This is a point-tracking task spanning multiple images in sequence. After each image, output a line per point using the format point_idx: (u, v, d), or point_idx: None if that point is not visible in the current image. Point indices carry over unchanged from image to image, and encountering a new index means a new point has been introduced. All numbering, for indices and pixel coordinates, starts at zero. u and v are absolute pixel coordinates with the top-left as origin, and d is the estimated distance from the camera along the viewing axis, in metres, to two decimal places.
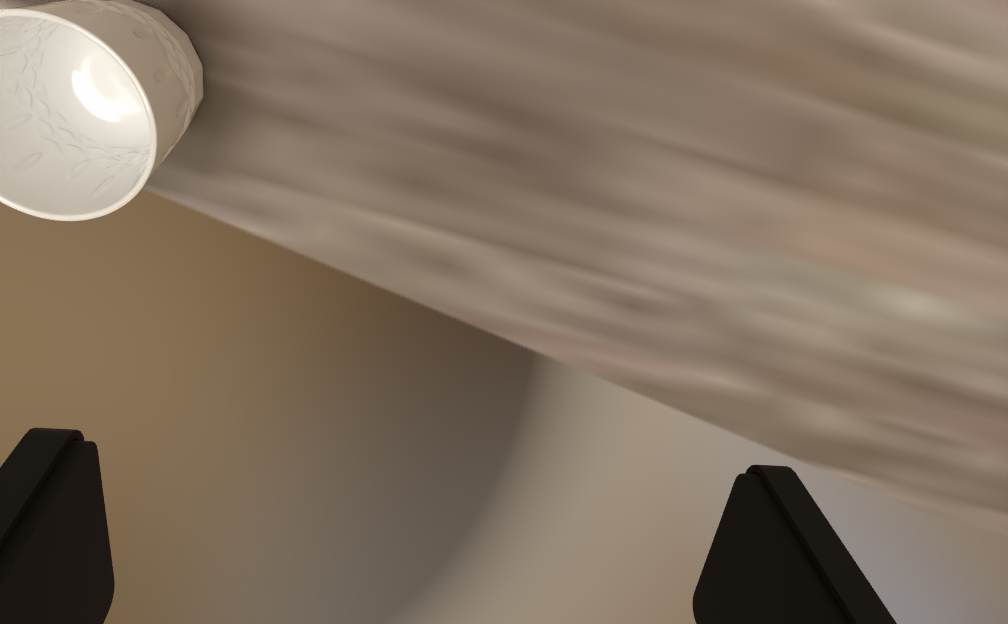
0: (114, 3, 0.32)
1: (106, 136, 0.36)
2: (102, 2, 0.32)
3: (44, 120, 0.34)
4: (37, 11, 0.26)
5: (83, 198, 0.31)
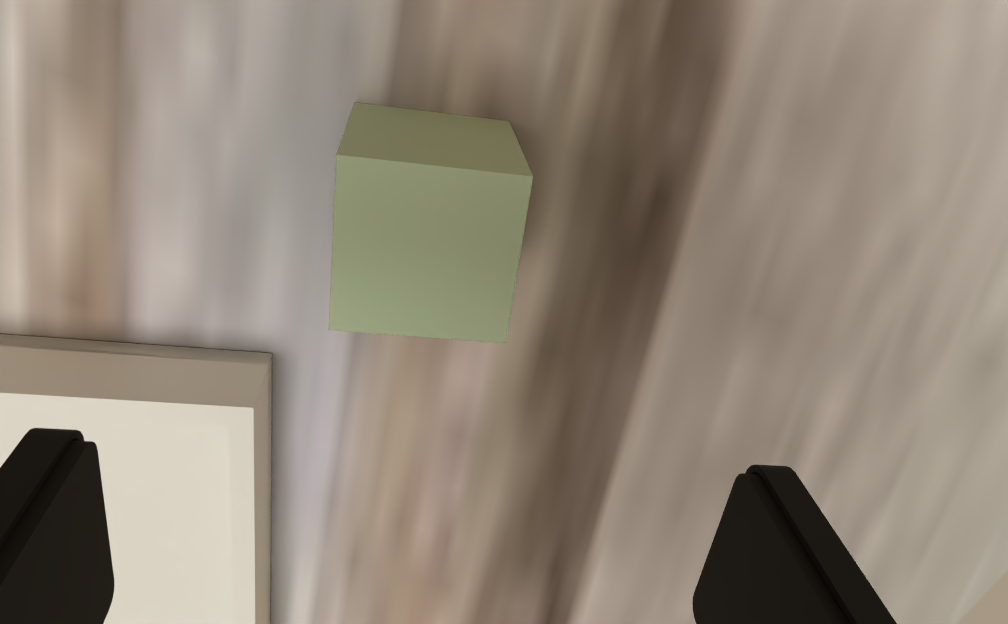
0: None
1: None
2: None
3: None
4: None
5: None
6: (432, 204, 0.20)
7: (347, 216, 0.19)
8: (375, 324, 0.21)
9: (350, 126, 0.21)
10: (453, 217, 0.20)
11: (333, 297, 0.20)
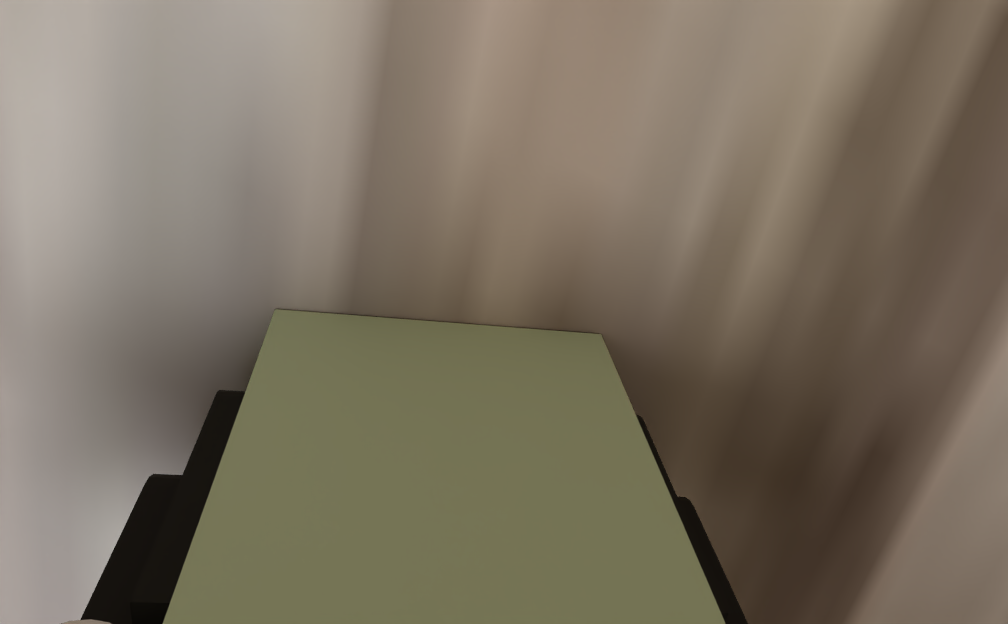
0: None
1: None
2: None
3: None
4: None
5: None
6: None
7: None
8: None
9: (239, 439, 0.08)
10: None
11: None
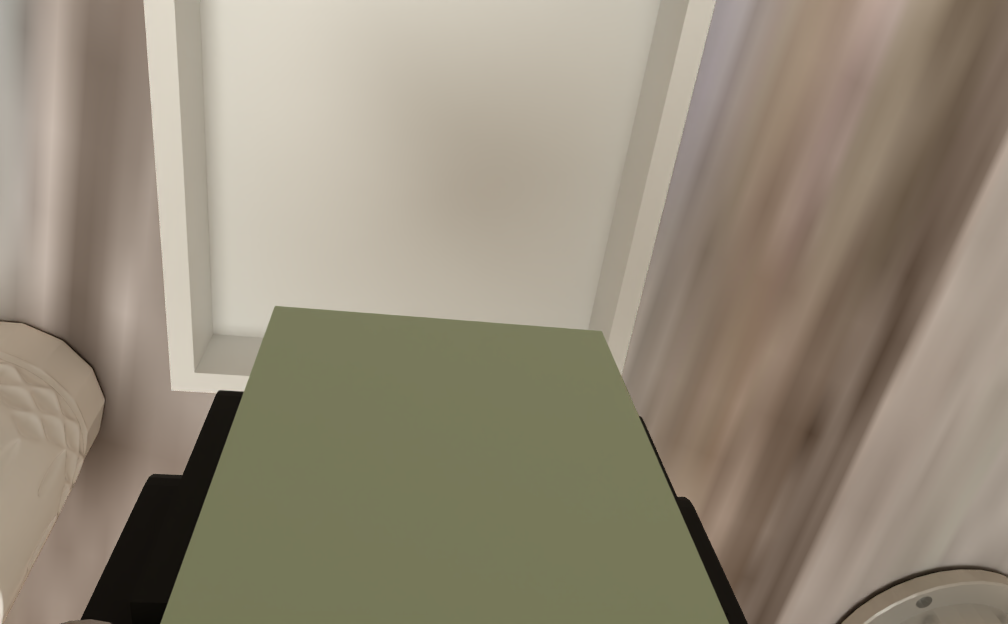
0: (80, 458, 0.28)
1: None
2: (74, 465, 0.27)
3: None
4: (2, 600, 0.22)
5: None
6: None
7: None
8: None
9: (239, 435, 0.08)
10: None
11: None
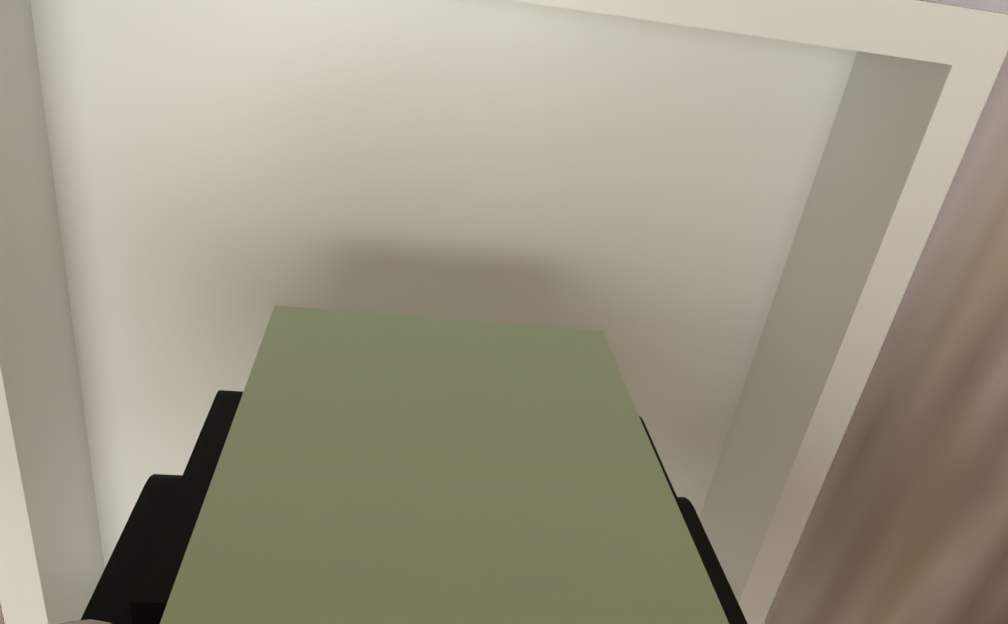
0: None
1: None
2: None
3: None
4: None
5: None
6: None
7: None
8: None
9: (238, 434, 0.08)
10: None
11: None
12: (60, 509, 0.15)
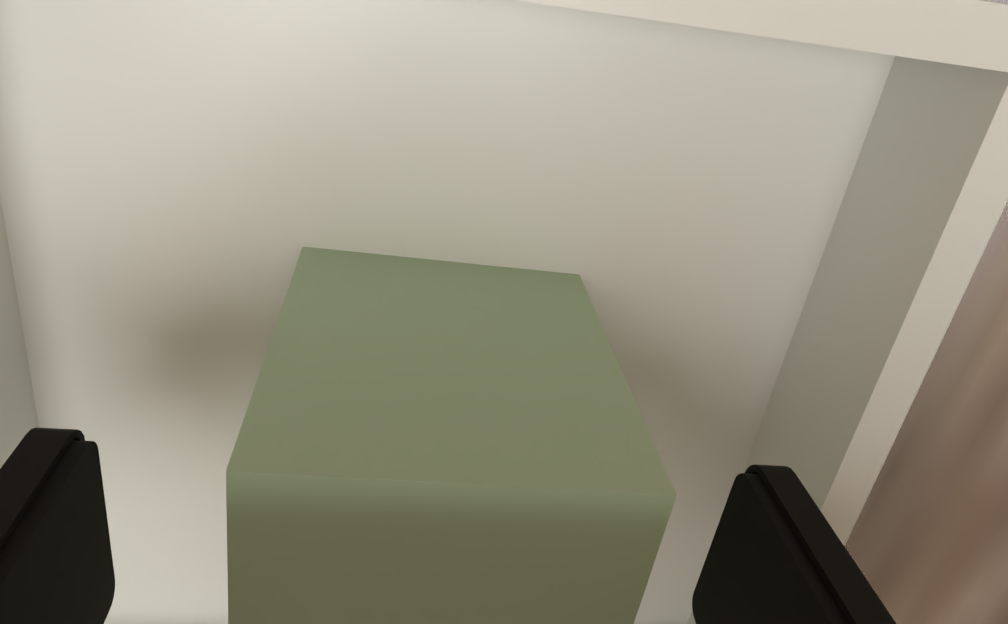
0: None
1: None
2: None
3: None
4: None
5: None
6: (449, 553, 0.09)
7: (260, 581, 0.09)
8: None
9: (281, 335, 0.10)
10: (496, 573, 0.09)
11: None
12: None
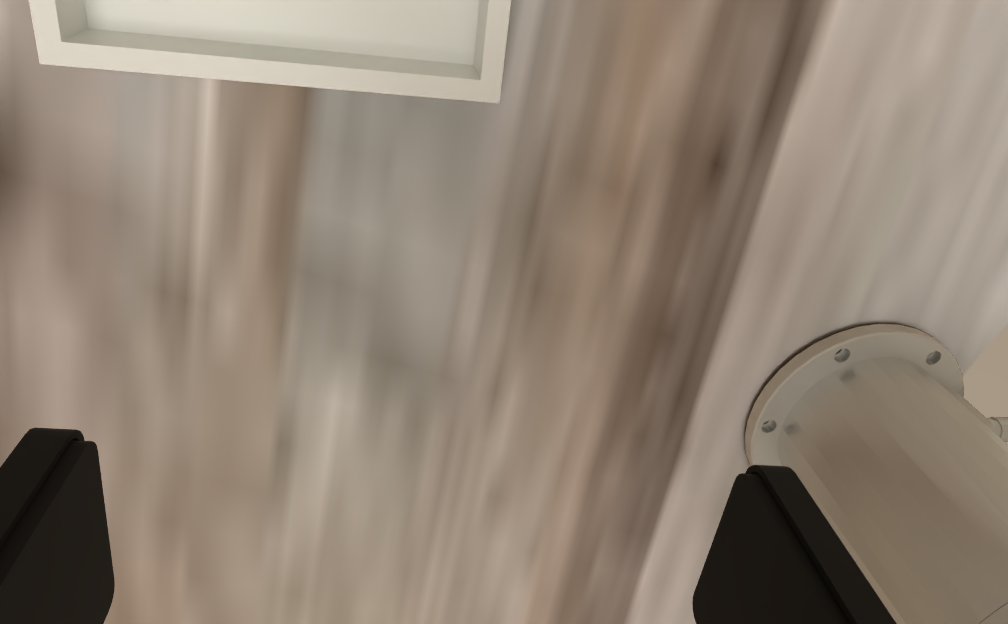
0: None
1: None
2: None
3: None
4: None
5: None
6: None
7: None
8: None
9: None
10: None
11: None
12: None
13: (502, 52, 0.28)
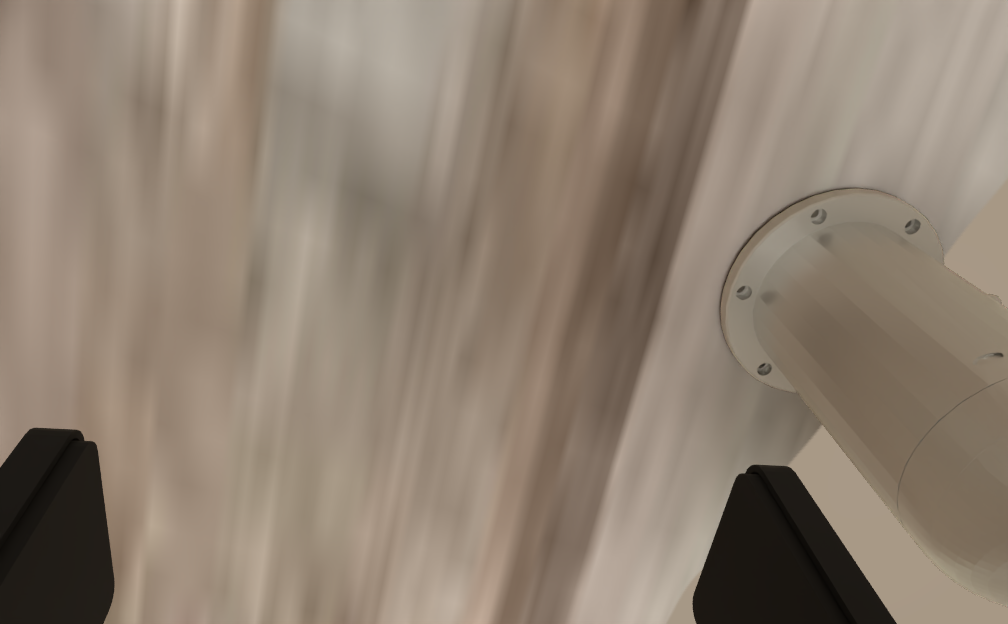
0: None
1: None
2: None
3: None
4: None
5: None
6: None
7: None
8: None
9: None
10: None
11: None
12: None
13: None
